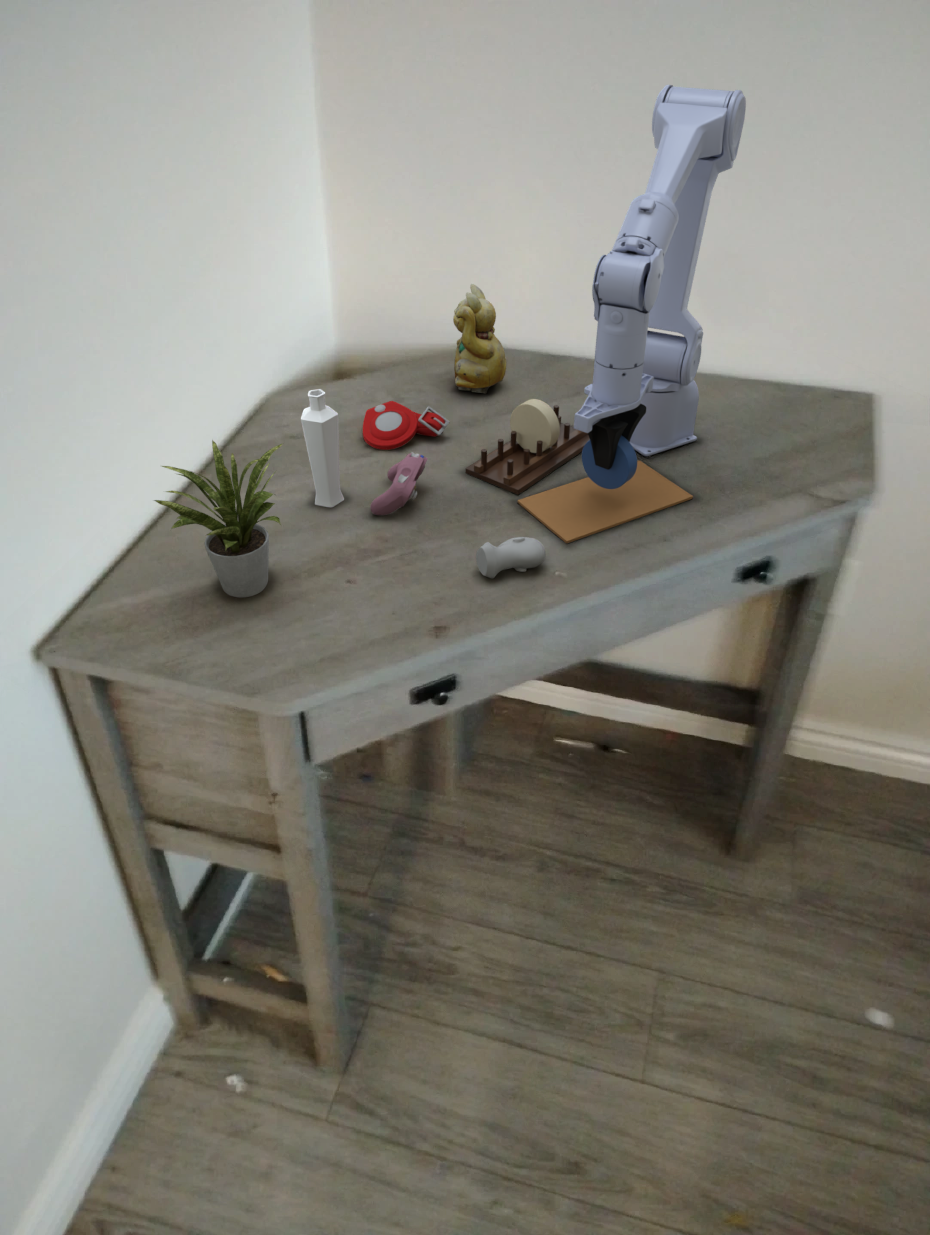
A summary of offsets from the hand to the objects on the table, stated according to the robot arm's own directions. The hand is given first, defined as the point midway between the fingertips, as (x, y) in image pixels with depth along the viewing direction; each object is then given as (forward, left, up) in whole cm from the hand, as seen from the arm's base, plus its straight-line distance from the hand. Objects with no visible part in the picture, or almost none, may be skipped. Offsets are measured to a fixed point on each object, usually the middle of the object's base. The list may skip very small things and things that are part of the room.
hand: (608, 462), depth 117 cm
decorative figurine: (-4, -38, +2) cm, 38 cm away
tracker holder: (+14, -29, -6) cm, 33 cm away
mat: (0, 0, -6) cm, 6 cm away
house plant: (+45, -8, -6) cm, 47 cm away
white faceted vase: (+30, -19, -6) cm, 36 cm away
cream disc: (+1, -15, -1) cm, 15 cm away
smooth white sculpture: (+18, +6, -6) cm, 20 cm away
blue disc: (0, 0, 0) cm, 0 cm away
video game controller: (+22, -14, -6) cm, 27 cm away
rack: (+1, -15, -6) cm, 16 cm away
